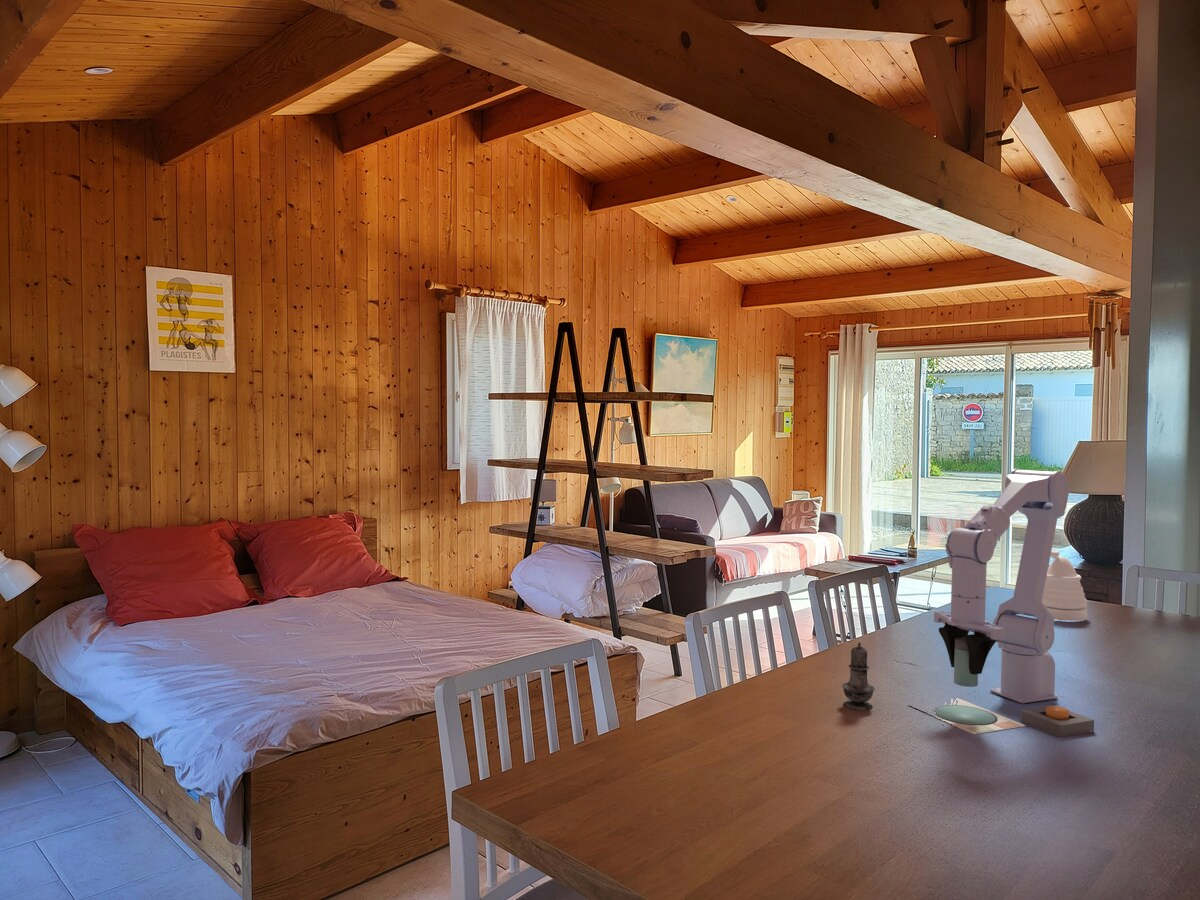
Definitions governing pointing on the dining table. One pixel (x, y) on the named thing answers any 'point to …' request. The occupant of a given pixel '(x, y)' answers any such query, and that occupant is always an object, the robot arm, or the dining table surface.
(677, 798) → the dining table surface
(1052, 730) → the button housing
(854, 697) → the salt shaker
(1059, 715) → the button
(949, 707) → the picture sheet
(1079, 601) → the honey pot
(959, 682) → the green capped cylinder
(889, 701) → the dining table surface
